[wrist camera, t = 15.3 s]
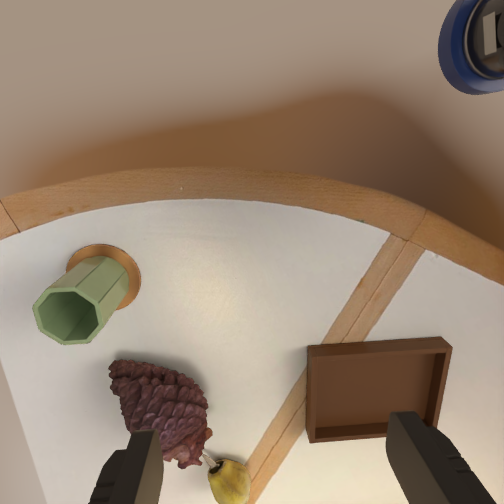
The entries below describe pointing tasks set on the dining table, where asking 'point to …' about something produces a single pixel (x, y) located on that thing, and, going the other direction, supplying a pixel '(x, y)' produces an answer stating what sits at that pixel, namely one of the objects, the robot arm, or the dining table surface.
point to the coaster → (119, 257)
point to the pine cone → (163, 408)
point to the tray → (373, 386)
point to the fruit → (228, 481)
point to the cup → (81, 300)
